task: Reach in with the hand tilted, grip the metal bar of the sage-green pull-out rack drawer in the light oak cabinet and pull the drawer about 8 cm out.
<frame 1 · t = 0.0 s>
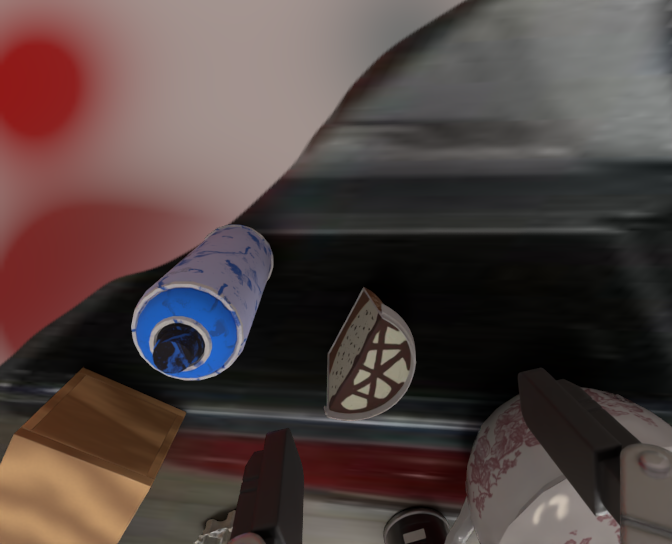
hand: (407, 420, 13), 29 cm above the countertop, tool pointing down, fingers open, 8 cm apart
egg carton: (244, 525, 53), on the countertop
chamber pot: (532, 435, 51), on the countertop
aerosol can: (237, 259, 41), on the countertop
cabinet: (111, 437, 47), on the countertop
food container: (368, 330, 45), on the countertop
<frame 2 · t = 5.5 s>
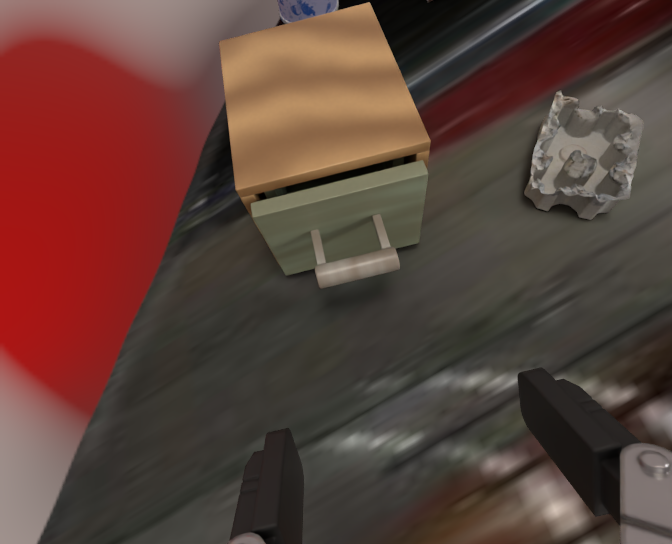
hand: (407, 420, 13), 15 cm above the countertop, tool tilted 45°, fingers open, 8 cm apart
egg carton: (571, 171, 35), on the countertop
rack drawer: (333, 179, 31), point 5 cm above the countertop, slide at 0.5 cm
aerosol can: (309, 10, 50), on the countertop
cabinet: (331, 180, 37), on the countertop
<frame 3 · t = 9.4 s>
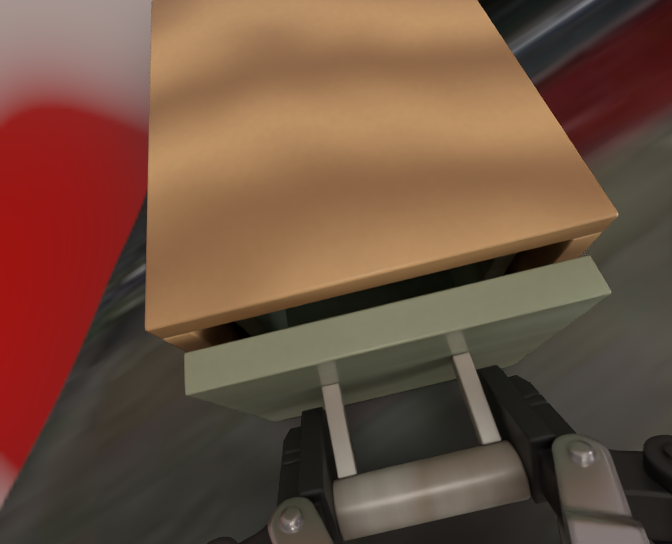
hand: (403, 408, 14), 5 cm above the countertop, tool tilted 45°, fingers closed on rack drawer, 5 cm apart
rack drawer: (361, 257, 16), point 5 cm above the countertop, slide at 0.5 cm, touching gripper
cabinet: (350, 235, 23), on the countertop
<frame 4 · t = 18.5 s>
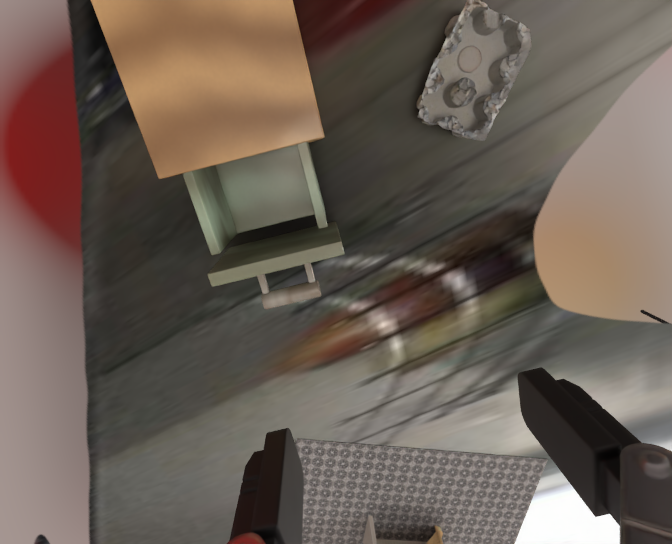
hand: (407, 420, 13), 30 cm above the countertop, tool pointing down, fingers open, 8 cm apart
grey dotted panel: (404, 528, 56), on the countertop
egg carton: (462, 79, 38), on the countertop
rack drawer: (266, 204, 35), point 5 cm above the countertop, slide at 8.2 cm
cabinet: (235, 70, 36), on the countertop
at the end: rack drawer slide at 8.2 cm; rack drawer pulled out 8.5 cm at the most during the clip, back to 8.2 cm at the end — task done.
